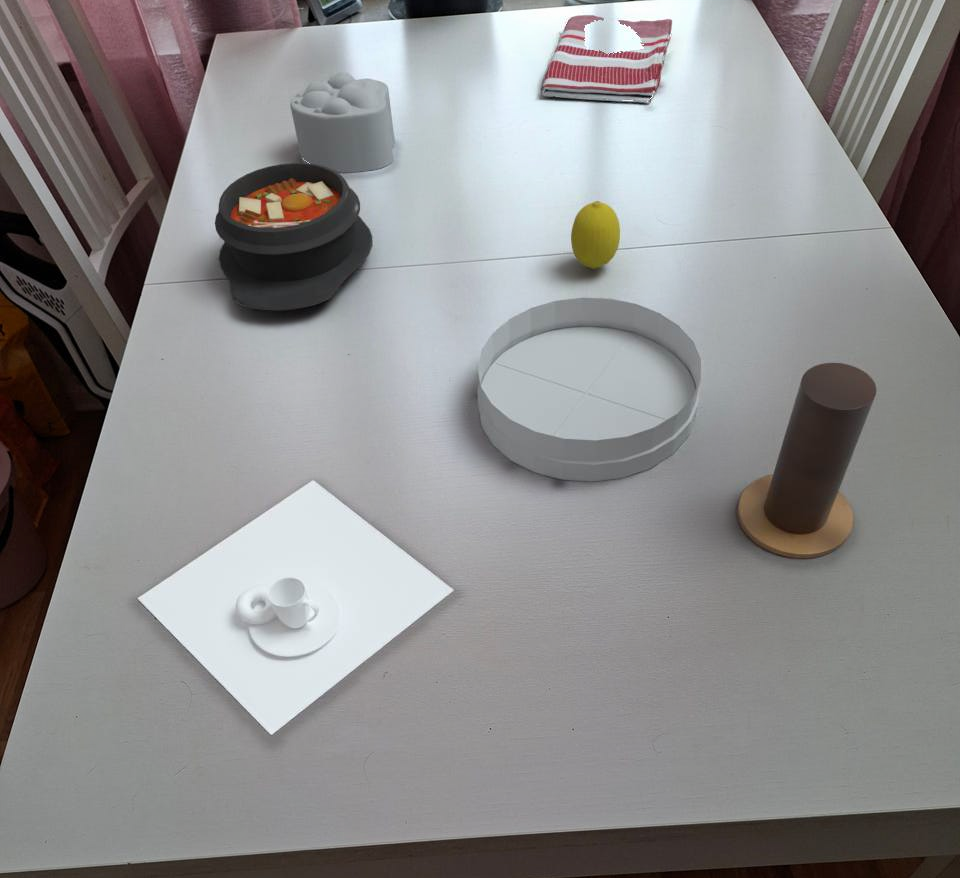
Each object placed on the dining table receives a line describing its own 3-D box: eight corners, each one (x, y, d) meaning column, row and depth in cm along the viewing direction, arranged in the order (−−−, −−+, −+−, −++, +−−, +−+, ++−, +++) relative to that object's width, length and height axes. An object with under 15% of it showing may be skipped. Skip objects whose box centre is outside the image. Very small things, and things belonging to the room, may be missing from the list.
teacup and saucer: (226, 618, 77) (212, 588, 74) (299, 566, 80) (288, 536, 77) (287, 676, 73) (276, 648, 70) (361, 619, 76) (353, 590, 73)
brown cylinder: (788, 479, 82) (829, 353, 71) (840, 511, 80) (891, 384, 68) (750, 511, 80) (786, 386, 69) (802, 544, 78) (848, 420, 66)
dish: (730, 373, 92) (739, 332, 88) (640, 511, 82) (645, 472, 78) (541, 316, 99) (541, 275, 95) (437, 436, 89) (432, 396, 85)
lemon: (566, 280, 103) (568, 213, 97) (574, 253, 106) (577, 187, 100) (613, 284, 102) (618, 217, 96) (620, 257, 105) (626, 190, 99)
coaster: (782, 461, 84) (783, 456, 84) (874, 516, 80) (876, 511, 79) (714, 516, 81) (715, 512, 80) (806, 576, 76) (808, 572, 76)
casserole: (363, 322, 101) (351, 254, 94) (203, 327, 102) (179, 259, 95) (384, 204, 115) (374, 137, 108) (243, 209, 116) (225, 143, 109)
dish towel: (672, 35, 139) (674, 15, 137) (654, 105, 126) (656, 85, 124) (566, 31, 142) (566, 12, 140) (538, 99, 129) (538, 79, 127)
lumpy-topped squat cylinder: (391, 170, 120) (382, 101, 113) (296, 175, 120) (281, 107, 113) (396, 132, 126) (387, 65, 119) (305, 137, 126) (292, 70, 119)
